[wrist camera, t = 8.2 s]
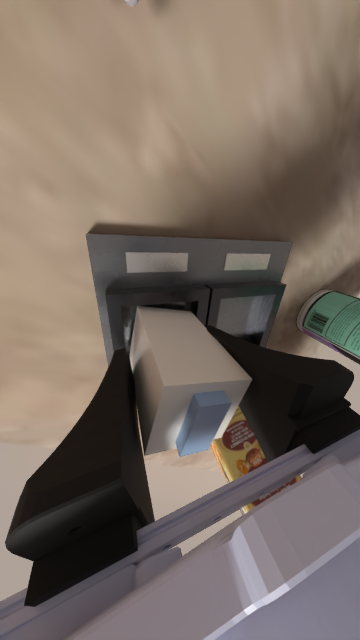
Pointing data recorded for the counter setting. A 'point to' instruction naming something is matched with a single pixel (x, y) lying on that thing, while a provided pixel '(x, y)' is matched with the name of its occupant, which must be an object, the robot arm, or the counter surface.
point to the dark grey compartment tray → (187, 282)
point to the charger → (132, 2)
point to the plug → (182, 381)
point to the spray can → (333, 321)
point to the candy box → (242, 455)
